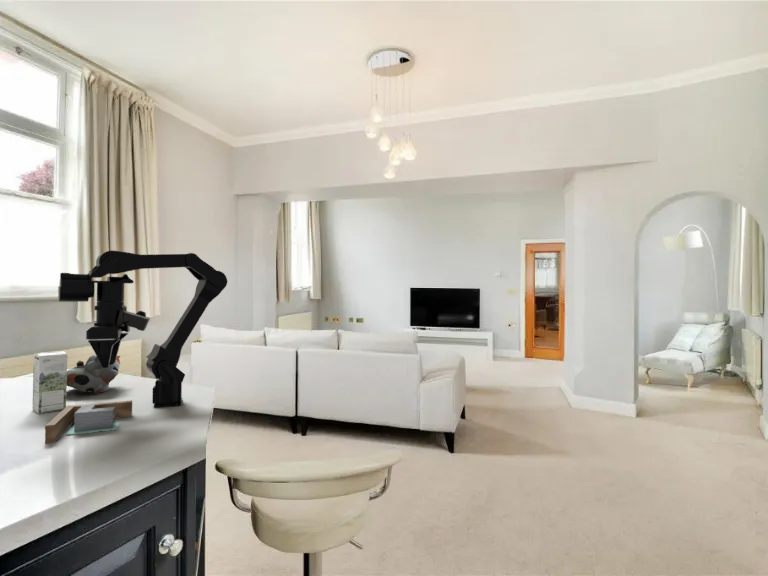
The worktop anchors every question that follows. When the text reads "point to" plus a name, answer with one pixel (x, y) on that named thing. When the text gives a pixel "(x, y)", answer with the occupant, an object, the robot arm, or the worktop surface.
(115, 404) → the corner wall
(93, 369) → the lucky cat figurine
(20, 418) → the worktop surface
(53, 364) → the syrup box
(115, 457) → the worktop surface
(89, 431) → the mat
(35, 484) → the worktop surface
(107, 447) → the worktop surface
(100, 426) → the bracket
